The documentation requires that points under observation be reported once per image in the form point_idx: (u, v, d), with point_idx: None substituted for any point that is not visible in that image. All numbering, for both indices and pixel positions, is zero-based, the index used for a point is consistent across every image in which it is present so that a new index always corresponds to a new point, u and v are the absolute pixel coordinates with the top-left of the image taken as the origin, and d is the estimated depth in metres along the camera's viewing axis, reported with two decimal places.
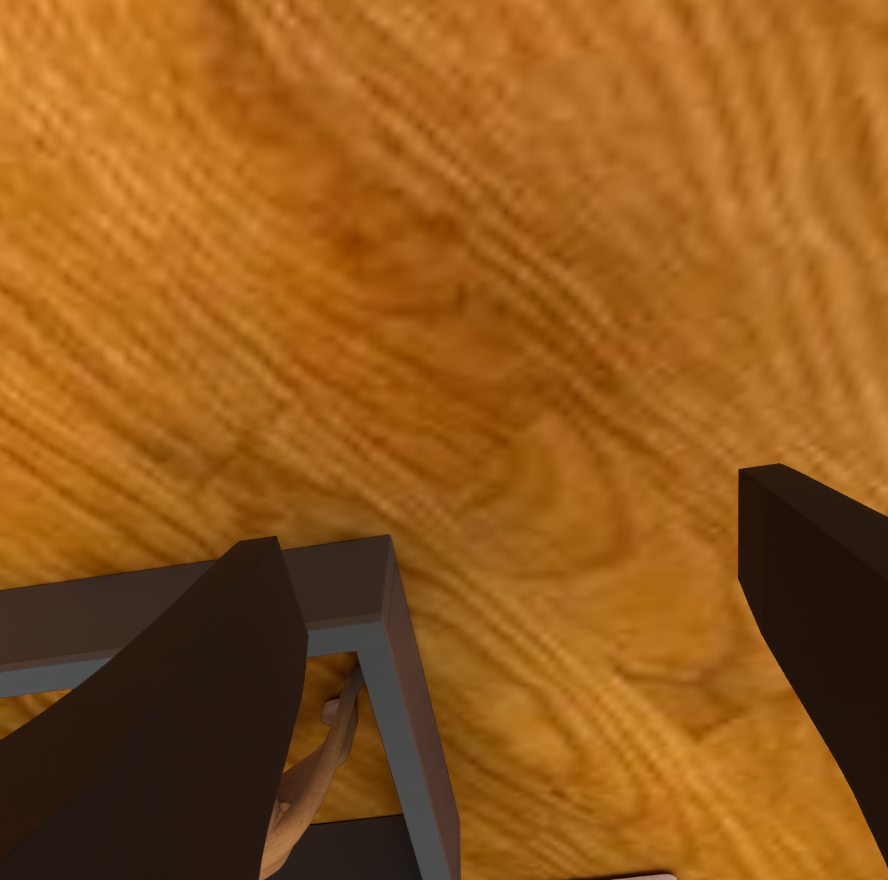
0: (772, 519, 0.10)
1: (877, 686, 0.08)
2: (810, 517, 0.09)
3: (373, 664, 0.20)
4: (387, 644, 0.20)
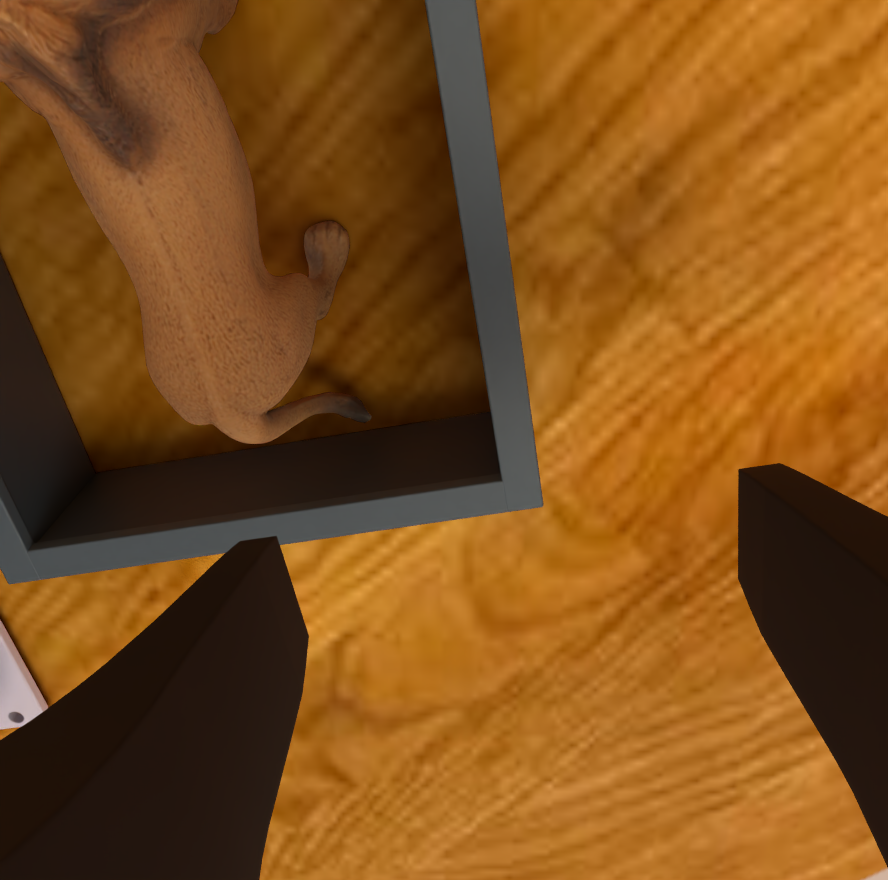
0: (771, 519, 0.10)
1: (877, 686, 0.08)
2: (810, 517, 0.09)
3: (482, 497, 0.18)
4: None
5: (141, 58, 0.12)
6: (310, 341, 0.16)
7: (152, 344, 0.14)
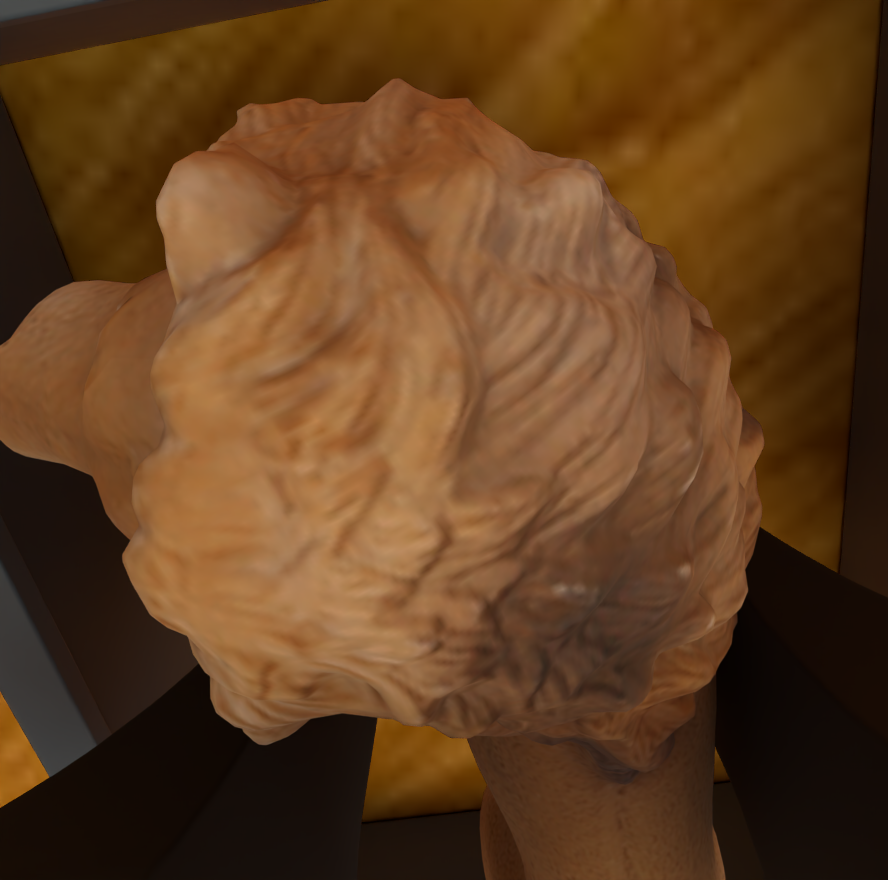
0: None
1: (749, 702, 0.08)
2: None
3: None
4: None
5: None
6: None
7: None
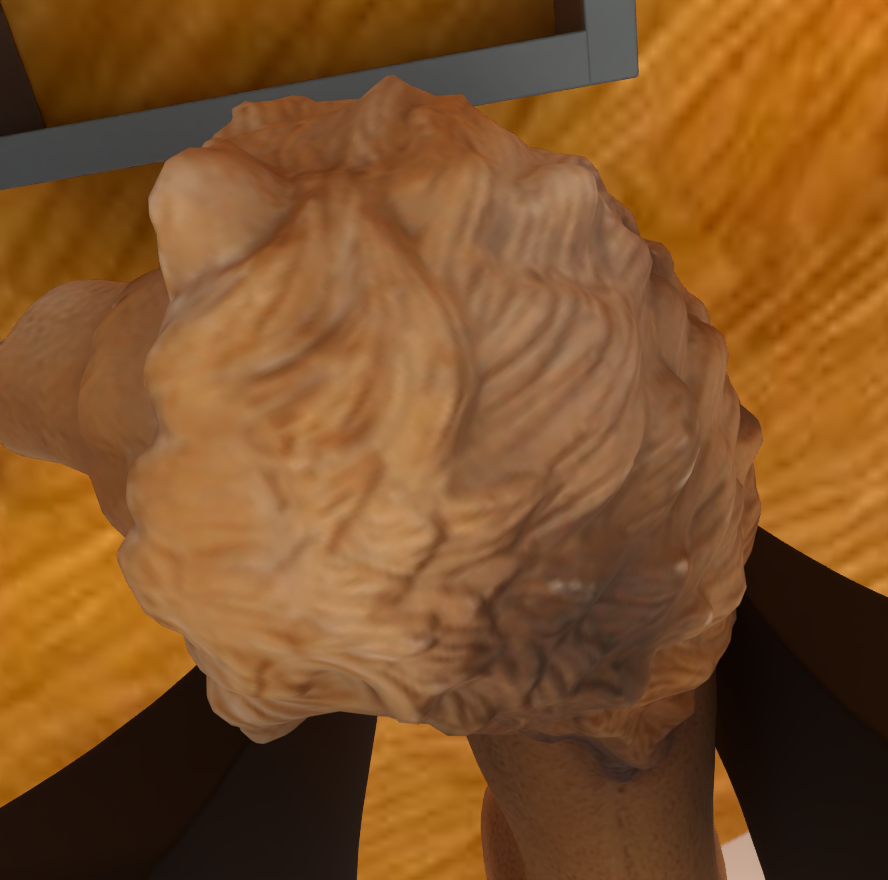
0: None
1: (749, 701, 0.08)
2: None
3: (557, 58, 0.13)
4: (594, 83, 0.14)
5: None
6: None
7: None
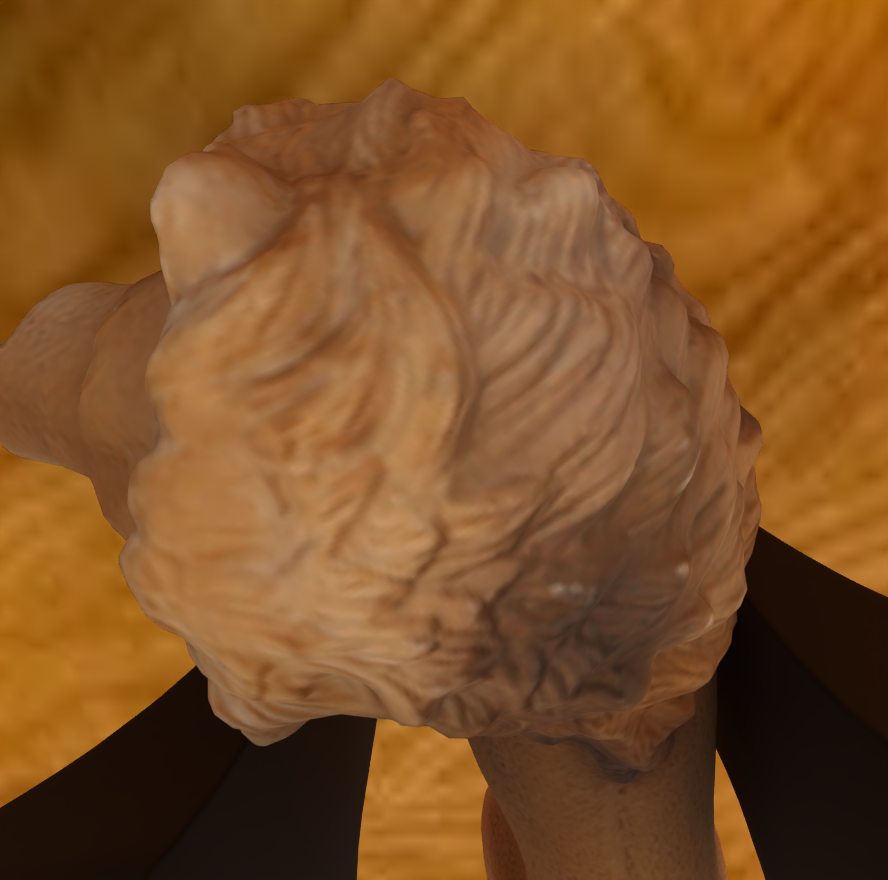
0: None
1: (749, 702, 0.08)
2: None
3: None
4: None
5: None
6: None
7: None
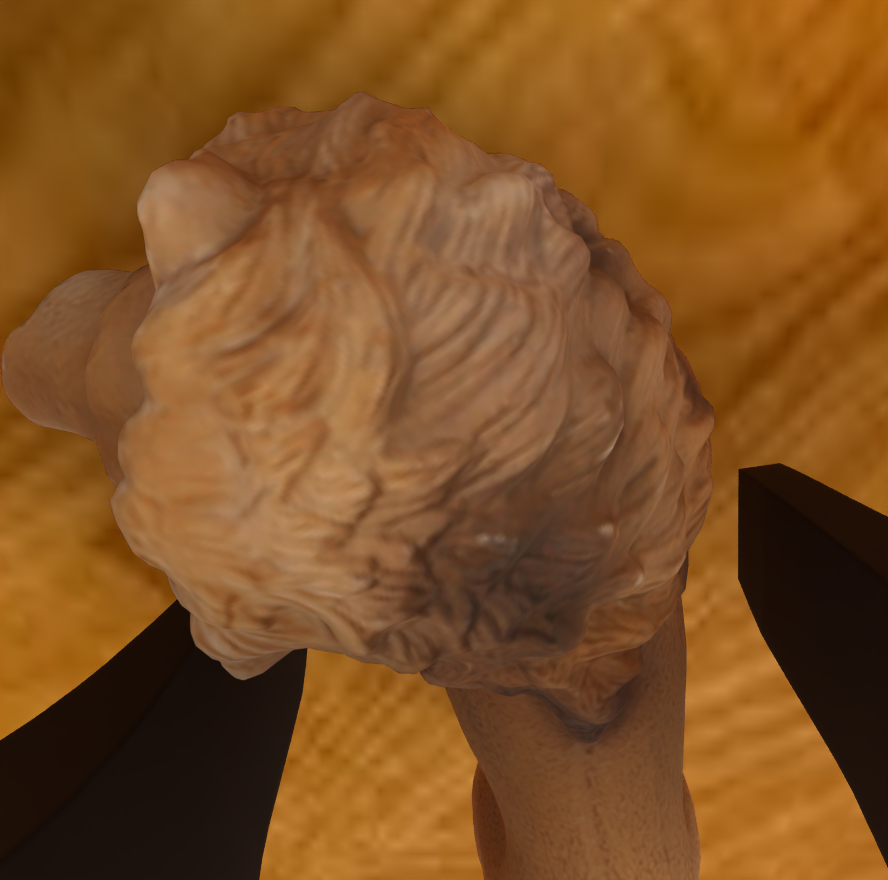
0: (771, 519, 0.10)
1: (877, 686, 0.08)
2: (810, 517, 0.09)
3: None
4: None
5: None
6: None
7: None
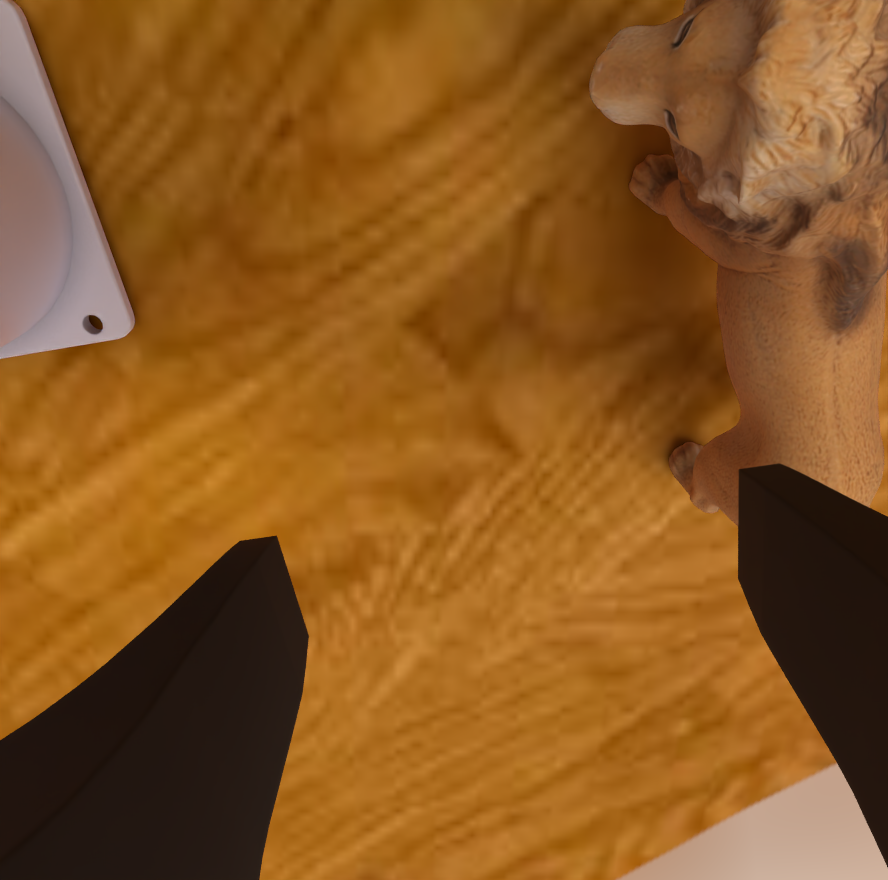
0: (772, 519, 0.10)
1: (877, 686, 0.08)
2: (810, 517, 0.09)
3: None
4: None
5: None
6: None
7: None
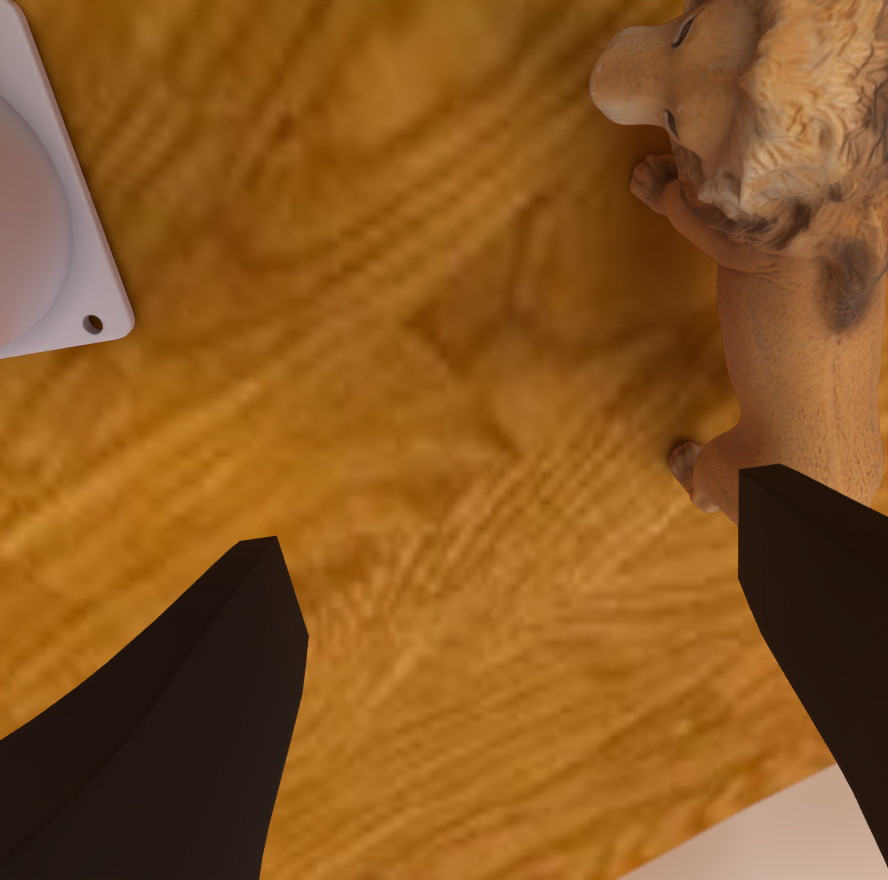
0: (772, 519, 0.10)
1: (877, 686, 0.08)
2: (810, 517, 0.09)
3: None
4: None
5: None
6: None
7: None
